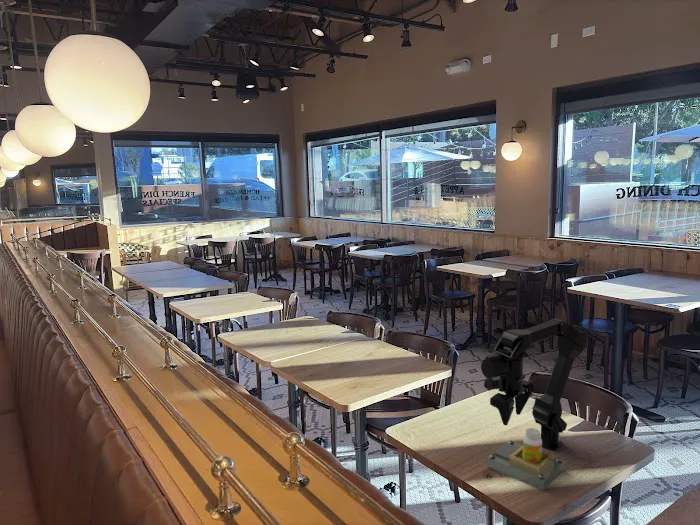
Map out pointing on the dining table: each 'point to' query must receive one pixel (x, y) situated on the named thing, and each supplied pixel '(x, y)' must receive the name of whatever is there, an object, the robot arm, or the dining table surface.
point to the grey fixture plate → (525, 465)
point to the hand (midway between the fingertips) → (511, 419)
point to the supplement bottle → (532, 446)
